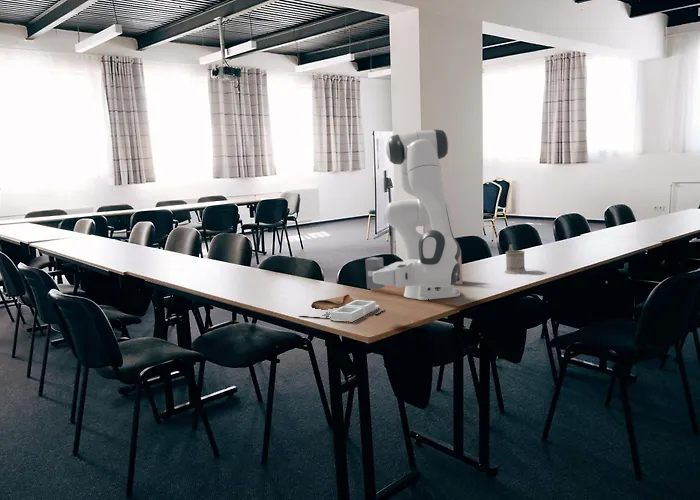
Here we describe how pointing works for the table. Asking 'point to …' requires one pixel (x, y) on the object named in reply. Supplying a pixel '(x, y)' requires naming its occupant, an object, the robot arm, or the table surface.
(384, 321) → the table surface
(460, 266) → the greeting card
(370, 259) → the block
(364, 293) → the table surface
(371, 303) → the white compartment tray
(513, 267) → the stone pedestal
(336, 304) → the sunglasses case
